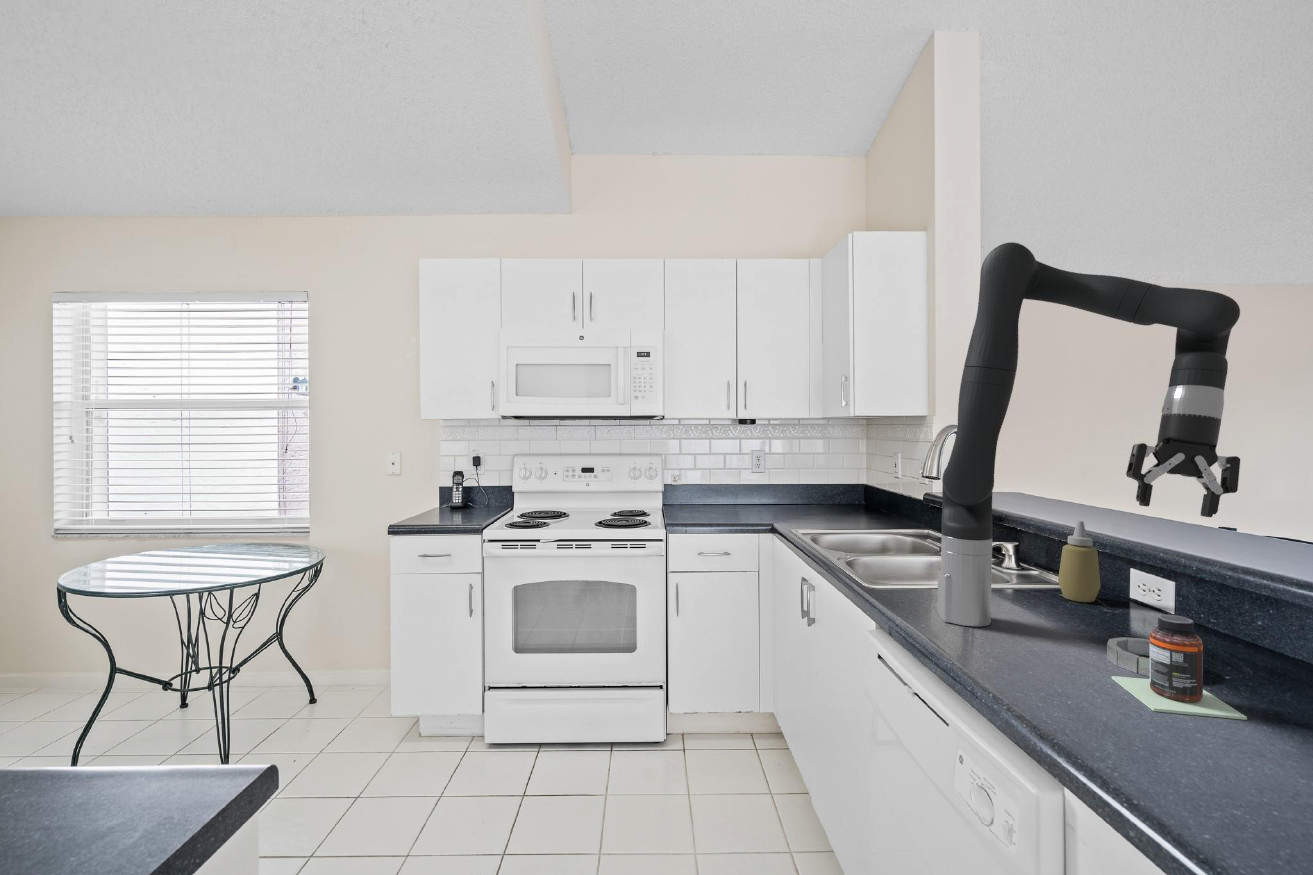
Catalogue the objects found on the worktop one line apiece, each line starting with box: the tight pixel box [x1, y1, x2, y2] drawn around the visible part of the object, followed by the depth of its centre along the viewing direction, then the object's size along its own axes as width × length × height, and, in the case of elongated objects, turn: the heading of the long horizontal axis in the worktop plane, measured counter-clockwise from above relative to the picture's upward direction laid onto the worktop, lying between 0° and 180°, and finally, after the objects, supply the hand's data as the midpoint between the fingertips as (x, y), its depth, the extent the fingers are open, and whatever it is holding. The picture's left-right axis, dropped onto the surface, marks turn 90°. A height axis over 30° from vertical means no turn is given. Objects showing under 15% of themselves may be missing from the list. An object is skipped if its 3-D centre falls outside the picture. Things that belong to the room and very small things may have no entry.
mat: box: [1111, 675, 1248, 721], centre depth 88 cm, size 11×11×1 cm
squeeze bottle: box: [1057, 520, 1101, 603], centre depth 137 cm, size 8×8×18 cm
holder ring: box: [1106, 636, 1150, 677], centre depth 99 cm, size 12×12×2 cm
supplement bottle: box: [1149, 614, 1204, 702], centre depth 88 cm, size 6×6×11 cm
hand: (1174, 511), depth 99 cm, fingers open, 8 cm apart
